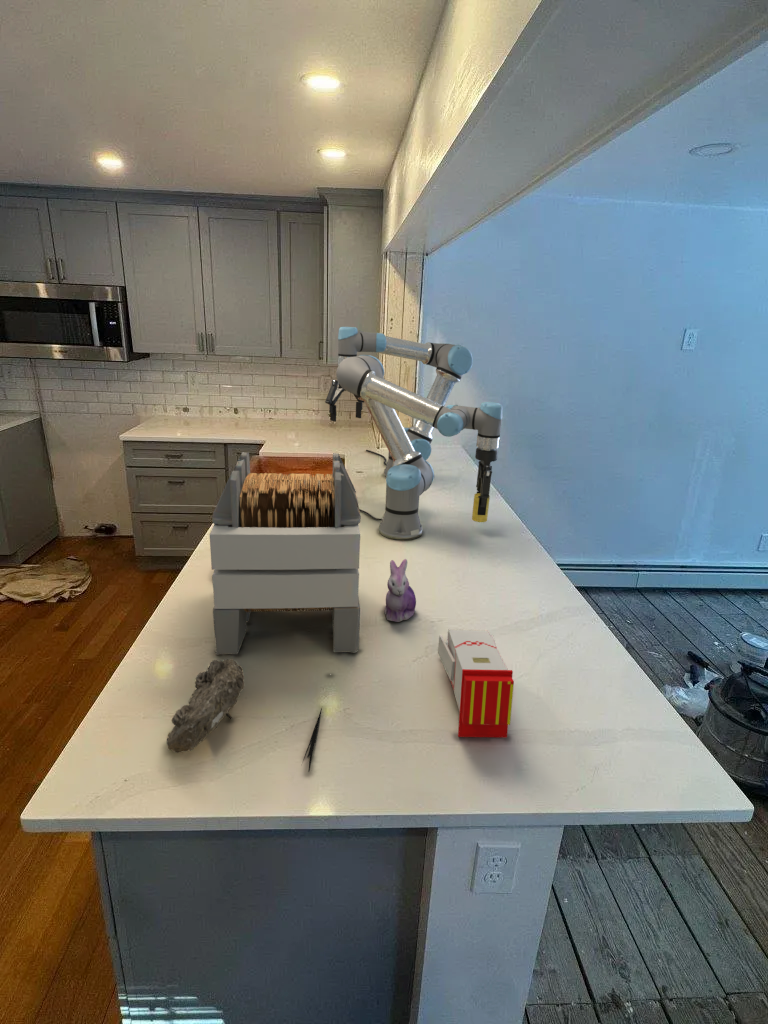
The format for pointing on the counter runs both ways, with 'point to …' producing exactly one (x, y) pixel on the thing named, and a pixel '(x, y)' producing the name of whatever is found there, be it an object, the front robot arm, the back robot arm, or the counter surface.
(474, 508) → the yellow cylinder
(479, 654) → the toy
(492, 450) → the front robot arm
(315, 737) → the feather
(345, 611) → the transformer
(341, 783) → the counter surface
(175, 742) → the fossil
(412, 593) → the figurine
